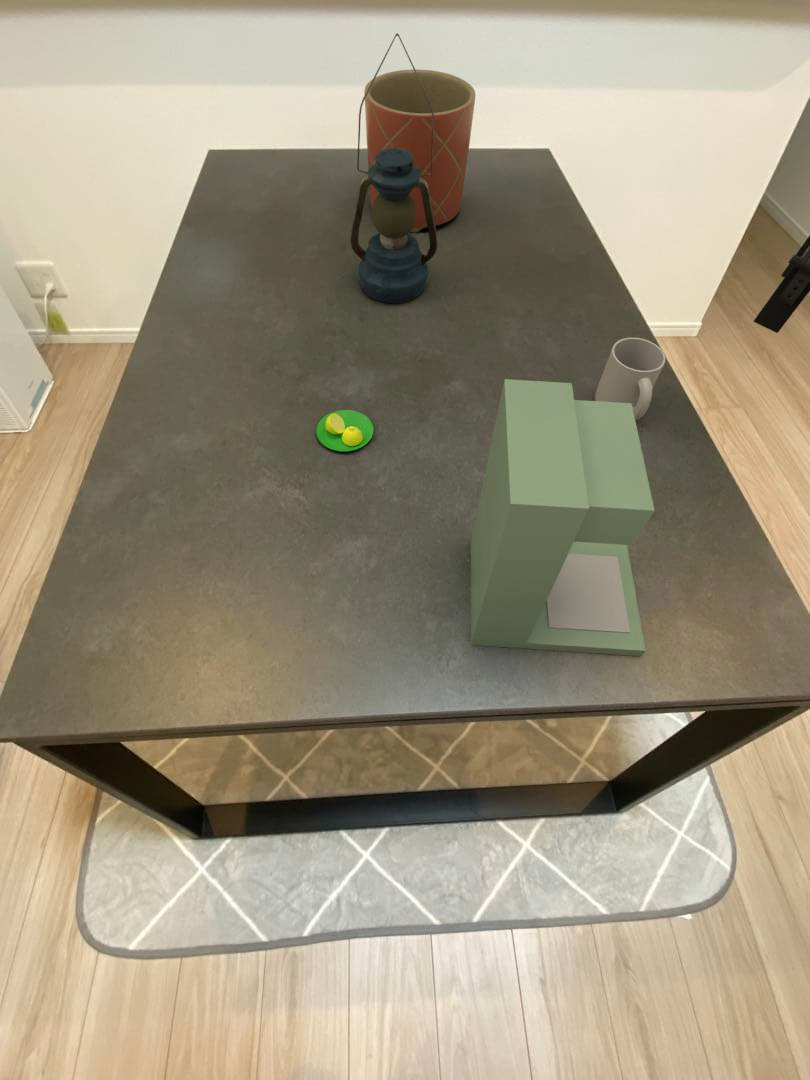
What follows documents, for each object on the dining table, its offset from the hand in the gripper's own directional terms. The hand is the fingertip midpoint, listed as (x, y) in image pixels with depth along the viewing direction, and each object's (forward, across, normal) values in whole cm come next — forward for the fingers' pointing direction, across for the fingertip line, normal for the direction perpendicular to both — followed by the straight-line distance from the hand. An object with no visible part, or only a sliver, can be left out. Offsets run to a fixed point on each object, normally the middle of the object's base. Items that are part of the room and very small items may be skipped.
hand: (779, 302), depth 68 cm
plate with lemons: (+29, +27, -38) cm, 55 cm away
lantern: (+27, -6, -54) cm, 60 cm away
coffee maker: (+26, +33, -3) cm, 42 cm away
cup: (+23, -1, -9) cm, 25 cm away
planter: (+25, -29, -66) cm, 76 cm away
